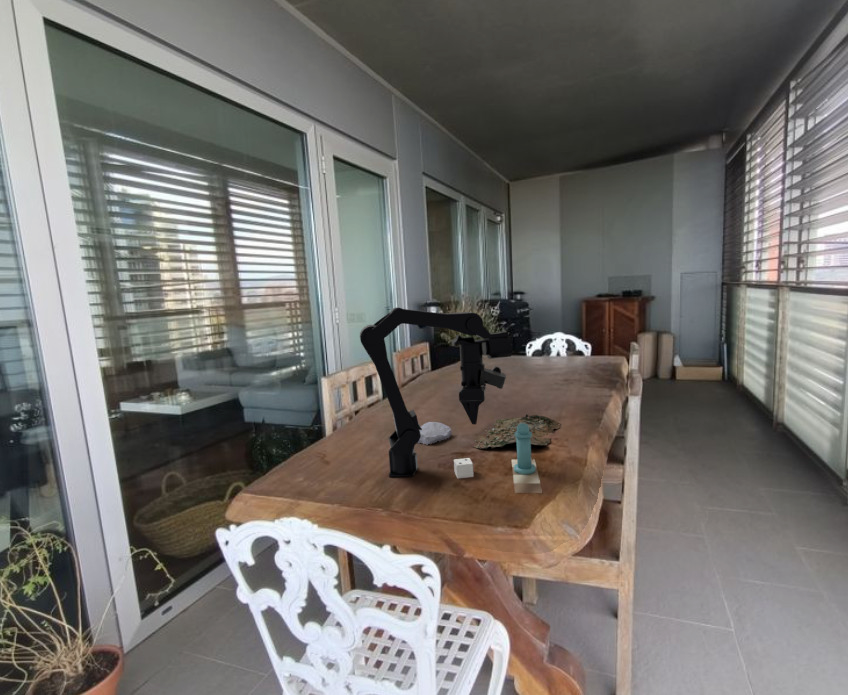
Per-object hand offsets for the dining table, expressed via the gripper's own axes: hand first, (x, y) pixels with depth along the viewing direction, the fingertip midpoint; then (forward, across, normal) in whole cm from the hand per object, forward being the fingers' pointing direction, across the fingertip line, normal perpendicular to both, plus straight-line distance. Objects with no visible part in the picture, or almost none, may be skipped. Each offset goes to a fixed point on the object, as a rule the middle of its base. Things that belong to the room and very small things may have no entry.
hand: (475, 419), depth 123 cm
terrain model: (+13, +23, -10) cm, 28 cm away
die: (+12, -9, +3) cm, 15 cm away
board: (+12, -10, -12) cm, 19 cm away
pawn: (+11, -7, -12) cm, 18 cm away
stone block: (+12, +20, +15) cm, 28 cm away
